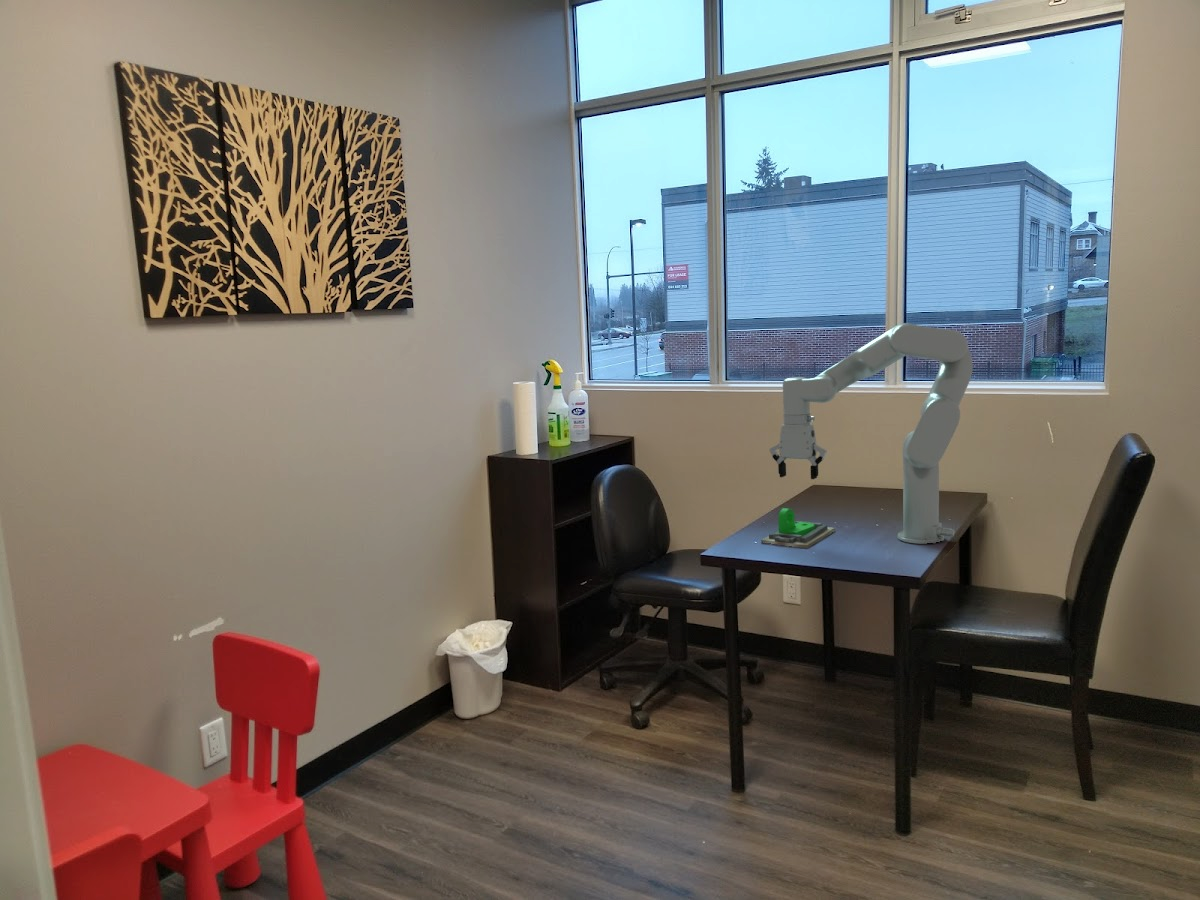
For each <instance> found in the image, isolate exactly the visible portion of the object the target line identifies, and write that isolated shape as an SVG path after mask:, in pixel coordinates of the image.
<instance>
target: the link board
mask: <svg viewBox="0 0 1200 900" xmlns="http://www.w3.org/2000/svg"><path fill="white" fill-rule="evenodd" d="M799 522H806V523H812V524H814V530H813V531H811V532H809V533H808V534H806V535H804V536H802V535H795V534H785V533H779V528H778V529H777V530H775V531H773V532H771V533H769V534H768V535H767V536H766V537H764V538H762V539H760V543H761V542H764V543H771V544H770V545H772V544H778V545H777V546H781V545H785V546H784V547H789V546H792V547H791V548H799V549H805V550H806V549H809V548H811V547H812V546H813V545H815V544H816V543H818V542H820V541H821V540H823V539H825V538H826V537H828V536H829V535H831V534H833V533H834V532H835V531H836V528H835V527H831V526H830V527H829V525H828V524H827V525H826V524H823V523H822V522H820V521H819V522H818V521H817V522H812V521H807V520H804V521H800V520H796V521H795V524H796V523H799ZM832 532H833V533H832Z"/></svg>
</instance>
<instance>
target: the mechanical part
mask: <svg viewBox="0 0 1200 900" xmlns="http://www.w3.org/2000/svg"><path fill="white" fill-rule="evenodd" d="M777 519H778V529H779V533H785V534H795V535H802V536H804V535H806V534H808V533H809V532H811V531H813V530H814V524H812V523H806V522H804V521H802V522H799V523H796V524H795V522H796V519H795V512H794V510H793V509H792V508H785V507H784V508H783V507H782V508H781V509H780V511H779V513H778V518H777Z"/></svg>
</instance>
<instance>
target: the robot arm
mask: <svg viewBox="0 0 1200 900" xmlns="http://www.w3.org/2000/svg"><path fill="white" fill-rule="evenodd" d="M968 345H969V344H968V340H967V338H966V336H965V335H964V334H963V333H961V332H960V331H957V330H954V329H945V328H944V329H943V328H938V327H937V328H936V327H929V326H923V325H918V324H914V323H913V324H912V323H908V322H903V323H900V324H897V325H895V326H893V327H892V328H890V329H889V330H887V331H886V332H884V333H882V334H881V335H879V336H877V337H876V338H874V339H872V340H871V341H870V342H868V343H866V344H865V345H863V346H861V347H860V348H859V349H857V350H855V351H853V352H852V353H851V354H850V355H848V356H847V357H845V358H844V359H842V360H840V361H839V362H838V363H837V362H836V364H834V365H832V366H830V367H829V368H827V369H826V370H824V371H823V372H821V373H820V374H818V375H816V376H815V377H813V378H807V377H801V376H799V377H798V376H797V377H795V376H794V377H788V378H785V379H784V380H783V381H782V404H783V408H782V412H783V424H781V427H780V434H779V444H776V445H774V446H773V447H771V448H769V450H768V451H769V452H770V455H771V456H772V459H774V461H775V462H776V464H777V465H778V467H777V470H778V471H777V472H778V474H779V478H784V477H785V476H787V464H786V462H785V461H786V460H787V459H791V460H792V459H794V460H795V459H796V460H808V461H809V462H810V463H811V465H810V480H815V479H817V478H818V476H819V465H820V463H821V462H823V460H824V458H825V457H826V455H827V452H828V451H827V449H825V448H823V447H821V446H819V445H818V444H817V437H816V432H815V427H814V424H813V423H812V422H813V421H815V416H814V415H811V410H810V409H811V405H810V403H817V404H818V403H820V404H823V403H824V404H825V403H829V402H830V401H832V400H833V399H834V398H835V396H836V395H837V394H838V393H839V392H841V391H843V390H845V389H846V388H848V387H849V386H851V385H853V384H855V383H856V382H858V381H861V380H864V379H867V378H870V377H873V376H874V375H876V374H877V375H878V373H880V372H881V371H883V370H885V369H886V368H887V367H890V366H892V365H893V364H894V363H896V362H897V361H899V360H901V359H903V358H904V357H906V356H908V357H913V358H918V359H919V358H920V359H926V360H933V361H938V362H939V368H938V372H937V374H936V376H935V379H934V381H933V384H932V386H931V388H930V390H929V392H928V394H927V397H926V398H925V400H924V401H923V403H922V405H921V407H920V416H921V417H920V418H919V421H918V423H917V424H916V428H915V429H914V430H912V431H910V432H909V433H907V435H906V436H905V437H904V440H903V443H902V470H903V472H902V473H903V475H902V476H903V478H902V479H903V480H902V481H903V486H902V487H903V489H902V492H903V493H902V494H903V495H902V497H903V500H902V502H903V503H902V507H903V508H902V509H903V510H902V513H903V514H902V517H903V518H902V521H903V523H902V525H903V526H902V530H901V531H899V532H898V533H897V539H898V540H899V541H901V542H905V543H909V544H918V545H928V544H927V543H933V544H937V543H936V542H939V543H941V542H940V541H942V542H943V541H945V537H952V538H953V537H955V530H954V529H953V528H948V527H944V526H942V522H939V521H940V520H939V517H940V515H939V513H940V510H939V509H940V506H939V505H940V470H939V469H940V467H939V465H940V464H939V462H940V461H941V459H942V458H943V456H944V454H945V452H946V450H947V449H948V447H949V445H950V443H951V440H952V438H953V437H954V434H955V433H956V430H957V428H958V426H959V423H960V421H961V420H960V419H961V410H960V407H959V406H960V404H961V402H962V399H963V398H964V395H965V393H966V390H967V388H968V386H969V384H970V380H971V377H972V374H973V369H974V368H973V367H974V365H973V357H972V354H971V351H970V349H969V346H968ZM777 451H779V454H778V453H777ZM818 453H819V456H818V457H817V454H818Z"/></svg>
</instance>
